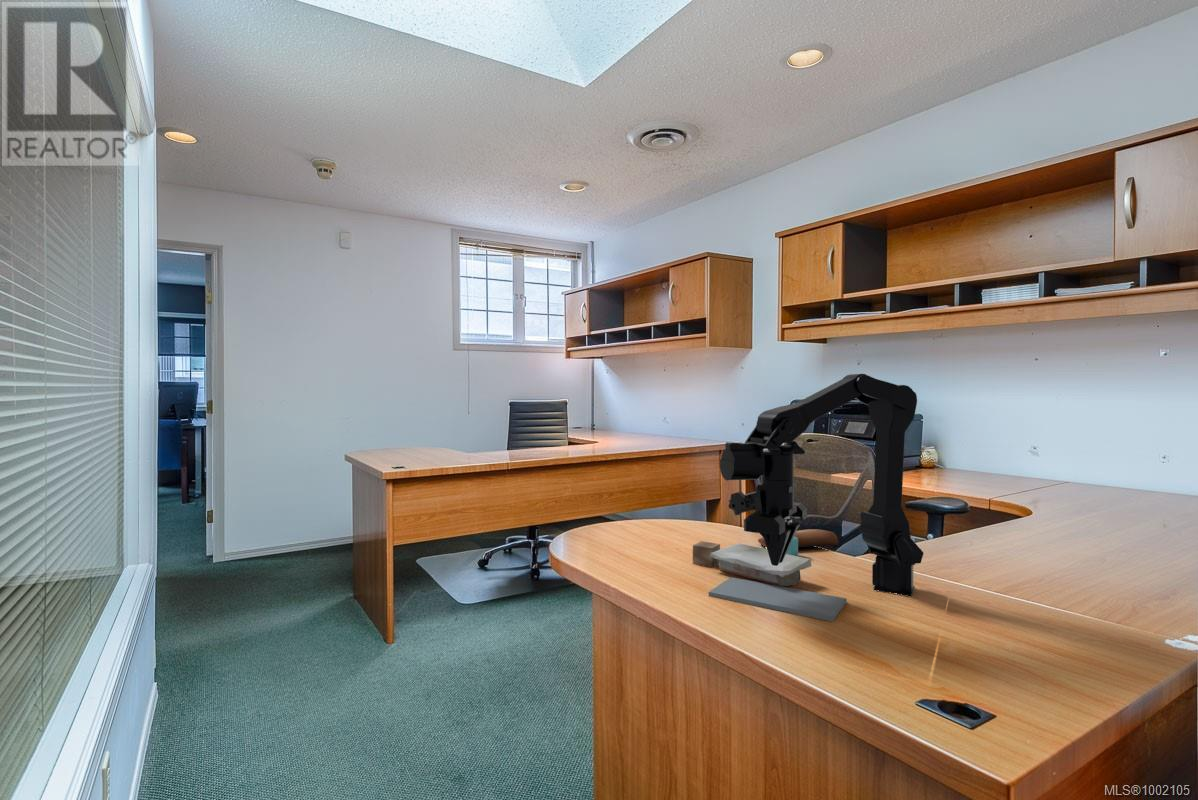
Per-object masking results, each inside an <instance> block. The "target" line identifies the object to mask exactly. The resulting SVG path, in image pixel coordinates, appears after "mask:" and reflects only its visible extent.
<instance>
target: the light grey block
mask: <svg viewBox="0 0 1198 800" xmlns="http://www.w3.org/2000/svg"><path fill="white" fill-rule="evenodd" d="M710 557H711V558H715V559H717V562H718V564H717V565H718V569H719V570H720V571H721V572H725V573H729V574H731V575H737V576H740V577H744V578H748V579H751V580H754V581H757V582H761V583H765V584H771V585H776V586H782V587H789V586H790V585H794V584H795V585H797V583H800V581H801V578H802V576H801V571H802V570H806V569H808V568H811V567H812V560H811V558H807V557H801V556H799V555H798V556H793V555H788V554H786V555H785V557H784V559H783V561H782V563H779V564H778V566H774V565H772V564H771V561H770V557H769V554H768V550H767V549H766V548H764V547H758V546H753V545H748V544H745V543H740V542H738V543H734V544H731V545H729V546H726V547H723V548H720V550H718V551H715V552H712V553H711V554H710ZM795 585H794V586H795Z"/></svg>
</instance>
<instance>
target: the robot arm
mask: <svg viewBox="0 0 1198 800" xmlns="http://www.w3.org/2000/svg"><path fill="white" fill-rule="evenodd" d="M853 400H856V401H858V402H860V403H862V404H864V405H867V406H868V413H869V418H870V420H871V422H872V423H873V426H874V428H875V430H876V432H875V433H876V434H875V435H876V436H875V439H876V440H875V457H874V477H873V478H874V479H873V480H874V481H873V497H872V498H873V501H872V504H871V506H870V508H869V509H868V510H867V511H861V512H860V527H859V529H858V531H859V532H860V533H861V538H862V541H864V543H865V544H866V546H867V549H868V553H869V554H871V555H874V556H875V561H874V562H873V564H872V577H871V579H872V583H871V584H872V585H873V591H874V590H879V591H884V592H883V593H885V592H891V593H897V594H902V595H908V596H911V595H912V596H913V594H912V593H914V592H915V588H916V587H915V585H914V566H916V564H921V563H922V559H923V557H924V554H925V553H924V551H923V549H921V548H920V547H919V546H918V544H917V543H916V542H915V541H914V540H913V539H912V537H911V535H912V534H911V527H910V525H911V524H910V522H909V519H908V517H907V516H906V514H905V511H904V509H903V505H902V503H903V484H904V483H903V481H904V464H905V463H904V462H905V461H904V460H905V457H904V456H905V441H906V439H905V438H906V431H907V430H908V428H909V427H910V425H911V424H912V422H913V421H914V419H915V414H916V409H917V404H918V396H917V392H915V391H914V390H913V389H912V388H911V387H910V386H909V385H905V384H896V383H892V382H888V381H886V380H881V379H878V378H875V377H872V376H870V375H868V374H865V373H853V374H852V373H849V374H846V376H844V377H842V379H840V380H838V381H836V382H834V383H832V384H830V385H829V386H827V387H825V388H824V387H823V388H822V389H820V390H819V391H817V392H814V393H813V394H811V395H809V396H807V397H805V398H802V400H800V401H798V402H795V403H791V404H787V405H782V406H778V407H774V408H772V409H771V408H770V409H768V410H765V411H762V412H761V413H760V414H759V415H758V417H757V421H756V424H755V427H754V428H753V430H752V431H751V432H750V434H749V436H748V437H747V439H746V440H745V442H732V441H729V442H728V441H726V442H725V444H724V445H725V449H723V451H722V453H721V456H720V459H719V470H720V473H721V476H722V477H723V479H724V480H725V481H747V480H748V481H751V480H758V479H759V478H760V483H758V484H757V485H756V487H755V491H753V492H748V493H746V494H745V493H743V491H737V492H733V493H731V494H730V499H729V500H728V502H729V504H728V509H731V510H732V512H733V514H734V516H739V515H741V514H743V513H747V512H750V511H754V512H753V513H751V514H749V515H747V517H746V518H744V519H743V531H744V532H748V533H753V534H754V533H755V534H760V535H761V537H763V538H764V540H765V543H766V547H767V550H768V554H769V557H770V561H771V564H772V565H774V566H778V564H779V563H782V561H783V559H784V557H785V555H786V553H787V550H788V548H789V546H790V544H791V542H792V540H793V537H794V535H795V533H796V531H798V530H799V528H800V525H801V524H800V523H797V522H793V519H792V518H795V517H797V518H799V520H801V521H804V520H806V519H807V518H808V508H807V506H805V505H804V503H801V502H794V493H795V492H794V491H797V489H798V486H797V485H798V484H797V483H794V480H795V479H794V472H795V471H794V468H795V467H794V465H795V464H794V462H795V461H794V460H795V457H794V456H795V455H805V454H806V451H805V449H803V448H802V447H801V446H800V445H799V444H798V443H797V441H796V439H797V438H799V436H801V435H802V434H804V433H805V432H806V431H807V430H808V428H809V426H810V425H811V424H812V423H813V422H814V421H816V420H818V419H820V418H822V417H823V416H825V415H827V414H829V413H831V412H833V411H834V410H837V409H838V408H841V407H842V406H844V405H847V404H848V403H850V402H852V401H853ZM791 517H792V518H791ZM879 591H878V592H879ZM913 591H914V592H913ZM902 595H901V596H902ZM908 596H907V597H908ZM912 596H911V597H912Z"/></svg>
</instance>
